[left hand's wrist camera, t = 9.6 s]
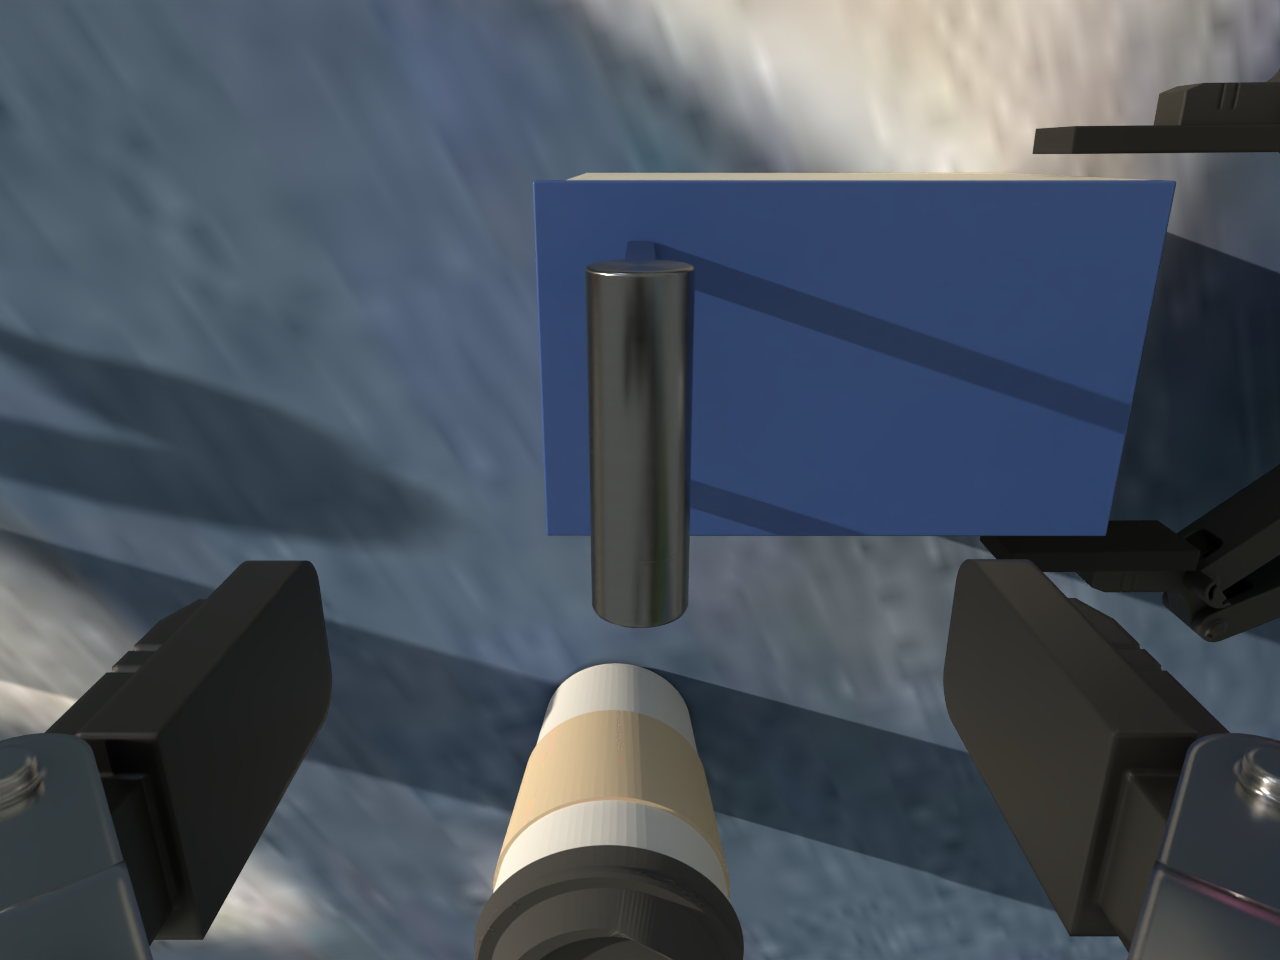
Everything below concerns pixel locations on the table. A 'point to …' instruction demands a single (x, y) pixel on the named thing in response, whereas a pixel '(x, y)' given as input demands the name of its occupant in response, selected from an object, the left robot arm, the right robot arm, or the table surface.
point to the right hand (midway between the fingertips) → (1019, 359)
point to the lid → (833, 362)
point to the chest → (830, 176)
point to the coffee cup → (612, 834)
